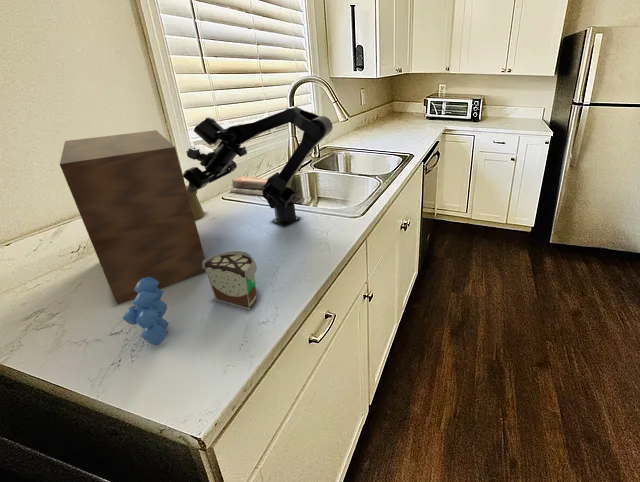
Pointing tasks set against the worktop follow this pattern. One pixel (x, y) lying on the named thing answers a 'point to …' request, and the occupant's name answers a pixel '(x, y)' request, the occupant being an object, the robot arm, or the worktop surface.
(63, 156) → the cupboard
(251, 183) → the packaged product
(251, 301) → the food container
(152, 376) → the worktop surface
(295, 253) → the worktop surface
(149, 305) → the grapes
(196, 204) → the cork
